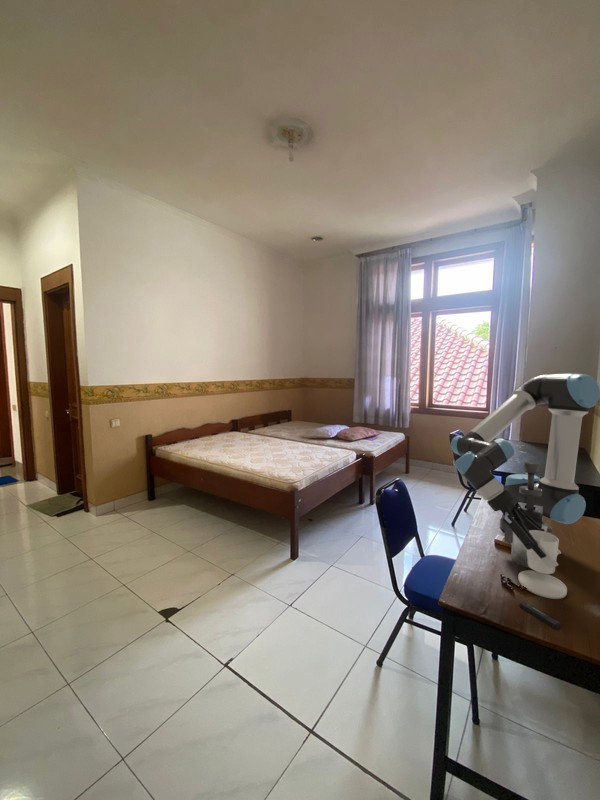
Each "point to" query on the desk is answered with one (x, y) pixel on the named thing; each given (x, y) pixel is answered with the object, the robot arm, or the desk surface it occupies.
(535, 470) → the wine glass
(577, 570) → the desk surface
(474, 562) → the desk surface
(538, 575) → the saucer
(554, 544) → the white cup
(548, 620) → the usb stick
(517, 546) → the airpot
